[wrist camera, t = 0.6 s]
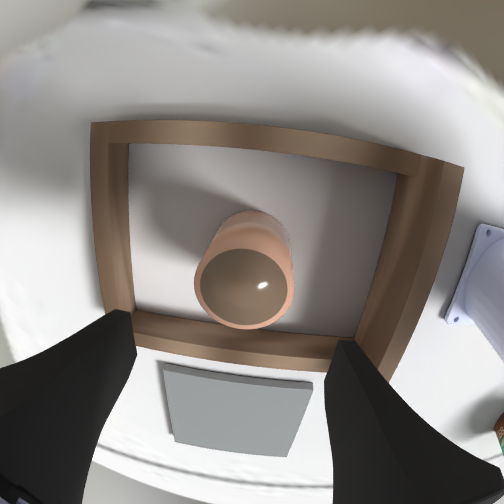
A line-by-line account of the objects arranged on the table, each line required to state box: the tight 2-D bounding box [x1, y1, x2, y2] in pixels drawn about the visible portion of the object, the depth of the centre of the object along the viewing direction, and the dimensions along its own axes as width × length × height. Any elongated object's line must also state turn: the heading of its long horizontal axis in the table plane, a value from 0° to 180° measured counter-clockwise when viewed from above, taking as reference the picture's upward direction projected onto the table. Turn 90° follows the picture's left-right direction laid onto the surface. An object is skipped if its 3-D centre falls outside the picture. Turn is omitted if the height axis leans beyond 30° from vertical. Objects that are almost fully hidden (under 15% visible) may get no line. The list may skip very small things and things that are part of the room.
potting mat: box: [163, 363, 313, 457], centre depth 25 cm, size 12×12×1 cm
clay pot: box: [194, 211, 294, 329], centre depth 16 cm, size 5×5×5 cm
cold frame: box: [90, 120, 464, 383], centre depth 16 cm, size 18×14×5 cm
